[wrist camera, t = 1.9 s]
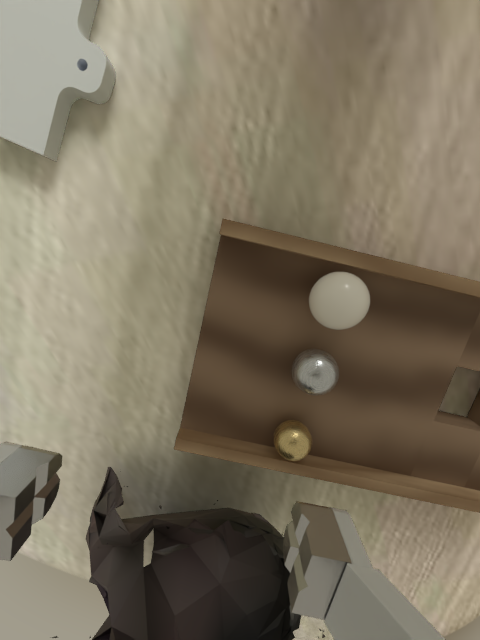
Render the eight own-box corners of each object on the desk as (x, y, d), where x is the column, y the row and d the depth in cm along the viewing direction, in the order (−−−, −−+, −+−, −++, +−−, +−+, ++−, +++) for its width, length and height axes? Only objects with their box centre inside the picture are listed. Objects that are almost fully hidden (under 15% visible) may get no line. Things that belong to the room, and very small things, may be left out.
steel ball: (294, 338, 23) (304, 353, 19) (336, 348, 23) (352, 364, 20) (283, 378, 23) (290, 398, 20) (323, 387, 24) (337, 408, 20)
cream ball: (311, 264, 21) (327, 266, 18) (363, 277, 22) (390, 281, 18) (297, 316, 22) (309, 328, 18) (347, 327, 23) (369, 342, 19)
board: (225, 224, 23) (222, 218, 19) (570, 309, 25) (632, 319, 21) (183, 421, 27) (173, 449, 23) (483, 485, 28) (522, 521, 25)
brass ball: (276, 409, 24) (281, 430, 21) (311, 417, 24) (321, 439, 21) (267, 440, 25) (271, 465, 22) (301, 447, 25) (310, 473, 22)
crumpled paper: (100, 571, 30) (290, 570, 31) (-16, 840, 16) (347, 819, 17) (99, 445, 28) (301, 449, 30) (-31, 614, 14) (375, 610, 15)
